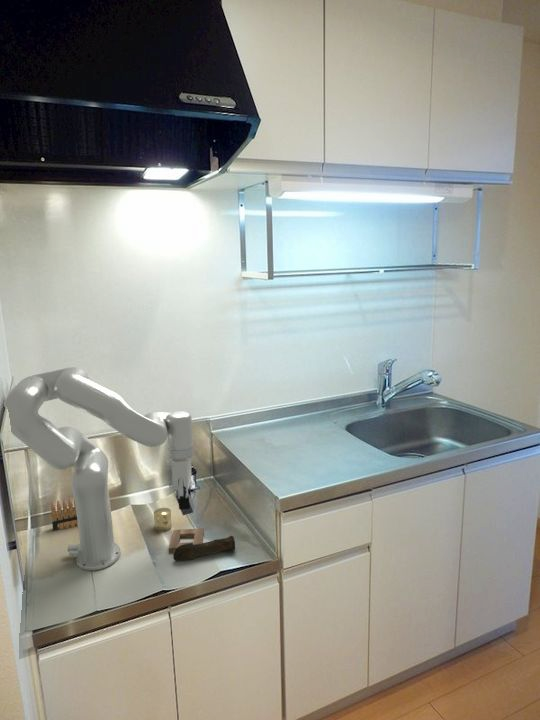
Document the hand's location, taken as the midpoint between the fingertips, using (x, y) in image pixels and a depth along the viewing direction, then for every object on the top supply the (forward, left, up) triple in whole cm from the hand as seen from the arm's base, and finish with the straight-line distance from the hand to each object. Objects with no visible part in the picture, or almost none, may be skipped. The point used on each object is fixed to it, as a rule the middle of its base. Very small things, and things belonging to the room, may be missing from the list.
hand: (185, 504), depth 144 cm
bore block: (0, 0, -14) cm, 14 cm away
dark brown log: (+11, -6, -17) cm, 21 cm away
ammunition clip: (-41, +11, -14) cm, 45 cm away
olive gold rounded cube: (-9, +9, -14) cm, 19 cm away
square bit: (+1, 0, -2) cm, 2 cm away
